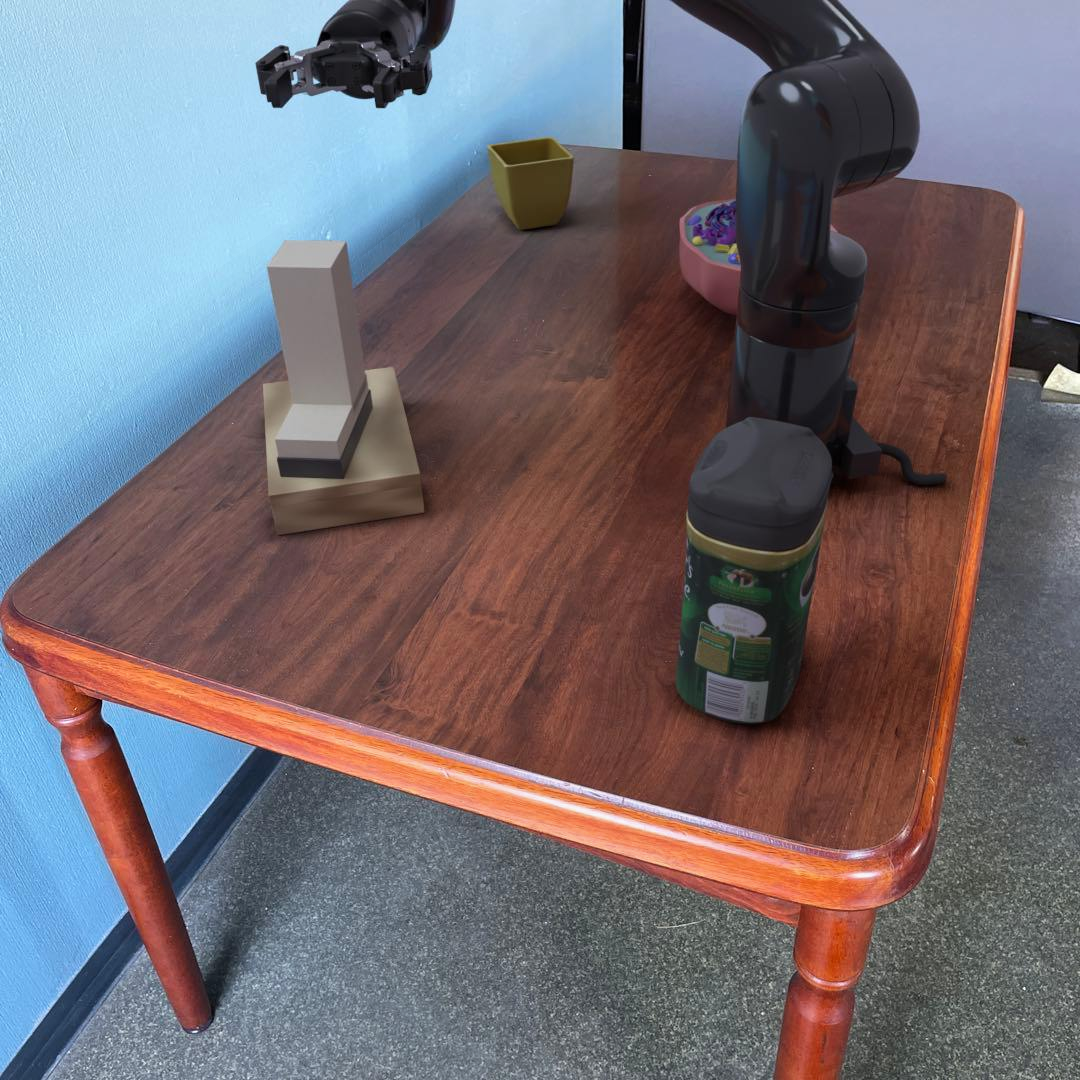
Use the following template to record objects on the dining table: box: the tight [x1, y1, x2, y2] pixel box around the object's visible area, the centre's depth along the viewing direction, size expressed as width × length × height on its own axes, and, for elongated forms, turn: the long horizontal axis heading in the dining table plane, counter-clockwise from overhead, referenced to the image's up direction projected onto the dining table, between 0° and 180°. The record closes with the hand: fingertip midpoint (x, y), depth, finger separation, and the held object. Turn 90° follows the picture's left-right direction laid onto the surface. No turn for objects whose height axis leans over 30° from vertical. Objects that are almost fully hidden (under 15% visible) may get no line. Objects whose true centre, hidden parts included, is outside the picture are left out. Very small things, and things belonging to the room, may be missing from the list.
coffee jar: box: [675, 417, 833, 725], centre depth 67 cm, size 10×8×19 cm
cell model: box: [678, 197, 839, 317], centre depth 114 cm, size 17×20×11 cm
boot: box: [266, 239, 373, 479], centre depth 85 cm, size 11×5×16 cm, turn 175°
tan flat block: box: [262, 366, 425, 536], centre depth 93 cm, size 12×18×4 cm, turn 13°
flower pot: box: [487, 136, 575, 231], centre depth 134 cm, size 9×9×9 cm
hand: (326, 95), depth 86 cm, fingers open, 8 cm apart
